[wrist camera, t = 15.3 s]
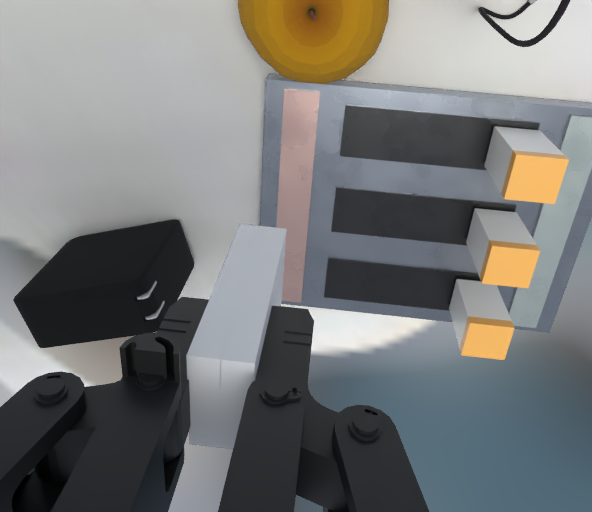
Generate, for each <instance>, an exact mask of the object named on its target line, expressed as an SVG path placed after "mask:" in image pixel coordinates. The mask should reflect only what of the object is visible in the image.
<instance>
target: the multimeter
mask: <svg viewBox="0 0 592 512" xmlns="http://www.w3.org/2000/svg"><path fill="white" fill-rule="evenodd" d="M535 1H537V0H528V2H527V3H526V4H525V5H524V6H523V7H522V8H521V9H520V10H518V11H517V12H515V13H513V14H511V15H500V14H497V13H494V12H492V11H490V10H488V9H486V8H483V7H480V8H479V13H480V14H481V15H482V16H483V18H484V19H485V20H486V21H487V22H488V23H489V24H490V25H491V26H492V27H493V28H494V29H495V30H496V31H498V32H499V33H500V34H501V35H502V36H503V37H504V38H505V39H507V40H508V41H509V42H511V43H513V44H515V45H517V46H521V47H529V46H532V45H534V44H536V43H538V42H539V41H540V40H542V39H543V38H545V37H546V36H547V35H548V34H549V33H550V32H551V31H552V29H553V28H554V27H555V26H556V24H557V23H558V21H559V20H560V18H561V17H562V15H563V14H564V12H565V10H566V8H567V6H568V4H569V2H570V0H562V1H561V3H560V5H559V7H558V9H557V11H556V12H555V14H554V16H553V17H552V19H551V20H550V22H549V24H548V25H547V26H546V27H545V28H544V30H543V31H542V32H541V33H540V34H539V35H538V36H536V37H535V38H533V39H531V40H527V41H520V40H517V39H515V38H513V37H512V36H510V35H509V34H508V33H507V32H506V31H505V30H503V29H502V28H501V27H500V26H499V25H498V24H496V23H495V22H494V21H493V20H492V19H491V18H490V17H489V16H488V15H487V14H489V15H491V16H493V17H496V18H500V19H511V18H514V17H516V16H518V15H519V14H521V13H522V12H523V11H524V10H525V9H526V8H527V7H529V6H530V5H531V4H533V3H534V2H535ZM486 13H487V14H486Z"/></svg>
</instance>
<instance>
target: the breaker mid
mask: <svg viewBox="0 0 592 512" xmlns="http://www.w3.org/2000/svg"><path fill="white" fill-rule="evenodd" d="M466 243H467V246H468V249H469V251H470V254H471V256H472V259H473V262H474V264H475V267H476V270H477V272H478V275H479V277H480V280H481V283H482V284H491V285H500V286H510V287H519V288H529V285H530V282H531V278H532V275H533V272H534V269H535V266H536V263H537V260H538V257H539V254H540V249H539V248H538V246H537V244H536V243H535V241H534V240H533V238H532V236H531V235H530V233H529V231H528V230H527V228H526V227H525V225H524V223H523V222H522V220H521V218H520V217H519V215H518V213H517V212H508V211H498V210H488V209H478V208H475V209H474V213H473V217H472V221H471V225H470V229H469V233H468V237H467V241H466Z"/></svg>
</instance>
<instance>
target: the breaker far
mask: <svg viewBox="0 0 592 512" xmlns="http://www.w3.org/2000/svg"><path fill="white" fill-rule="evenodd" d="M449 310H450V314H451V318H452V322H453V325H454V329H455V333H456V337H457V340H458V344H459V348H460V352H461V355H464V356H474V357H483V358H491V359H501V360H504V359H505V356H506V353H507V350H508V346H509V344H510V340H511V337H512V334H513V331H514V325H513V323H512V321H511V318H510V316H509V313H508V311H507V309H506V306H505V304H504V302H503V299H502V297H501V294H500V292H499V290H498V287H497V285H491V284H482V283H481V281H472V280H463V279H456V283H455V287H454V291H453V295H452V299H451V303H450V307H449Z"/></svg>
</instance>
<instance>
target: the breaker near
mask: <svg viewBox="0 0 592 512" xmlns="http://www.w3.org/2000/svg"><path fill="white" fill-rule="evenodd" d="M568 162H569V159H568V158H567V157H566V156H565V155H564V154H563V153H562V152H561V151H560V150H559V149H558V148H557V147H556V146H555V145H554V144H553V143H552V142H551V141H550V140H549V139H548V138H547V137H546V136H545V135H544V134H543V133H542V132H541V131H540V130H530V129H519V128H508V127H497V126H494V129H493V133H492V137H491V141H490V145H489V149H488V153H487V158H486V162H485V168H486V170H487V171H488V173H489V175H490V176H491V178H492V180H493V181H494V183H495V185H496V186H497V188H498V190H499V191H500V193H501V195H502V196H503V198H504V199H507V200H517V201H527V202H537V203H548V204H555V202H556V199H557V196H558V193H559V190H560V187H561V183H562V180H563V177H564V174H565V171H566V168H567V165H568Z"/></svg>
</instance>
